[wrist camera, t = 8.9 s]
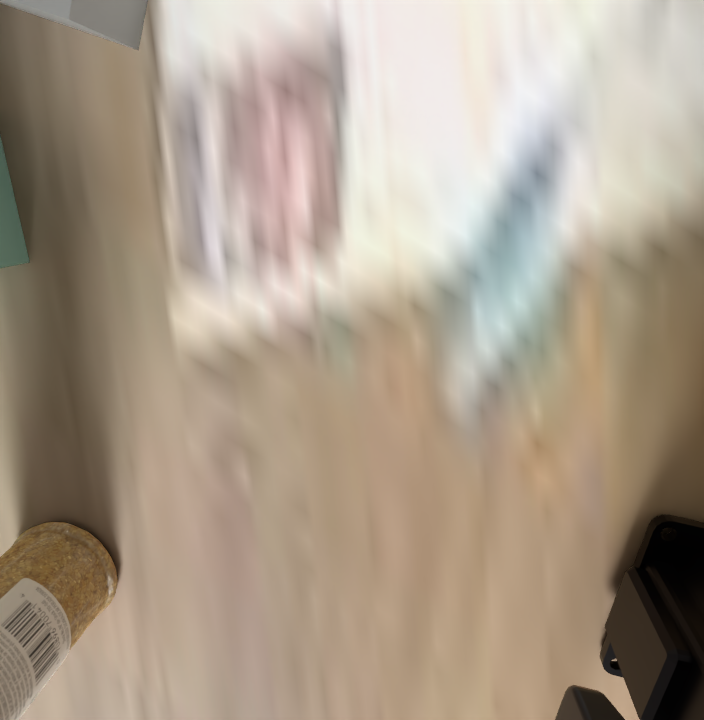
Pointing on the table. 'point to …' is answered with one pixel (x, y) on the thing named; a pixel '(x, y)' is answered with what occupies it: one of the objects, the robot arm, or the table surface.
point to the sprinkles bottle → (47, 606)
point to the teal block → (9, 221)
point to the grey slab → (92, 16)
